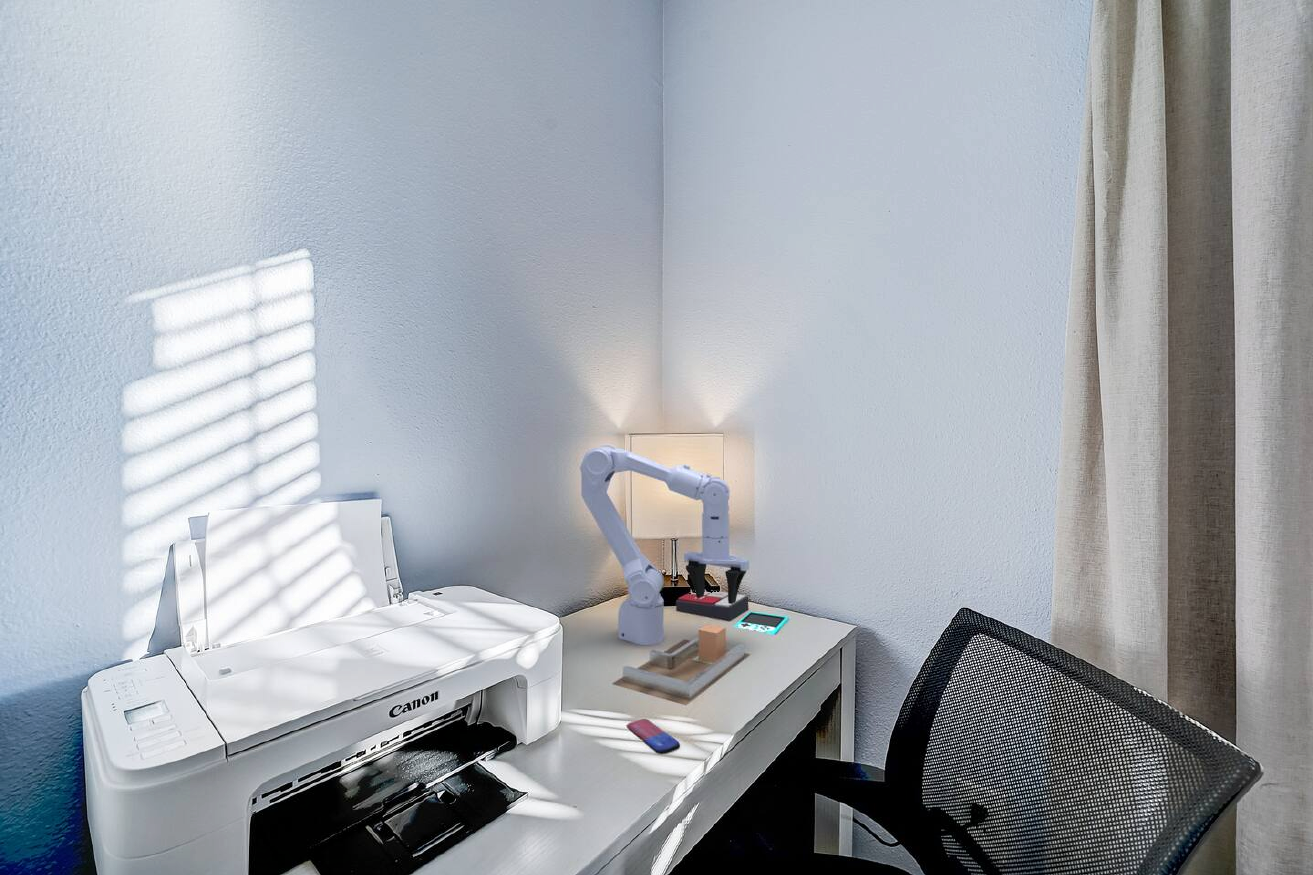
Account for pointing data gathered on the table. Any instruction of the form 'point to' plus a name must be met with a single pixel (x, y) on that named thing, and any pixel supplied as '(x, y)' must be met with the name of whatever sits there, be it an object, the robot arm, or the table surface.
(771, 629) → the handheld game console
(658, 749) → the eraser
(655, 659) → the inner rail
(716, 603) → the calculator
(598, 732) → the table surface
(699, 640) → the block
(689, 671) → the track board
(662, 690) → the outer rail
